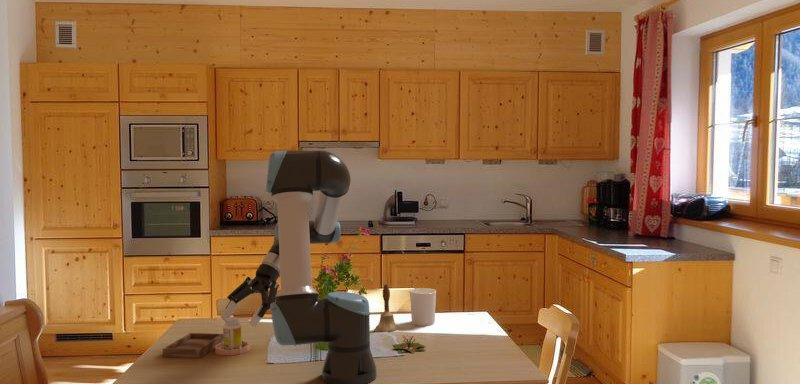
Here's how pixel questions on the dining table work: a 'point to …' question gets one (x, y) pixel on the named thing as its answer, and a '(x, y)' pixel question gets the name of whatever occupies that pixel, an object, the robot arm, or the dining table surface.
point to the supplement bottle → (232, 334)
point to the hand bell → (386, 314)
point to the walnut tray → (193, 345)
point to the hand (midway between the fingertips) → (237, 322)
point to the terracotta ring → (232, 351)
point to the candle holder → (423, 306)
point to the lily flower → (408, 344)
